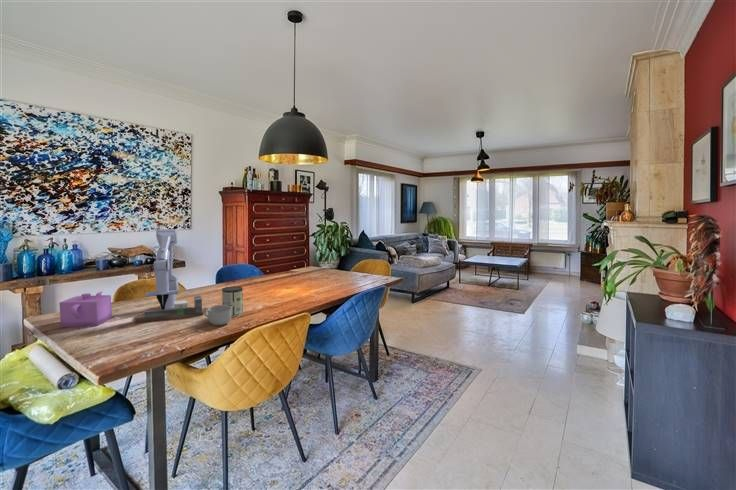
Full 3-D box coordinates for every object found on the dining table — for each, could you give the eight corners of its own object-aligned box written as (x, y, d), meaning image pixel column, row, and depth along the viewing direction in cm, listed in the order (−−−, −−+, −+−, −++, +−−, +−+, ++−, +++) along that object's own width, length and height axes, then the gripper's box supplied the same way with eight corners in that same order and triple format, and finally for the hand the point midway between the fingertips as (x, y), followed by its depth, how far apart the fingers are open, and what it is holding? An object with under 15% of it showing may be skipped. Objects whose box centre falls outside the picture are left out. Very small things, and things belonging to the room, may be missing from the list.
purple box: (119, 313, 187) (117, 287, 186) (91, 329, 163) (90, 299, 161) (86, 314, 184) (84, 288, 183) (53, 330, 160) (51, 300, 159)
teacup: (236, 321, 178) (236, 306, 177) (220, 328, 168) (220, 311, 167) (214, 318, 183) (213, 303, 182) (197, 324, 172) (197, 308, 172)
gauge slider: (174, 310, 189) (174, 301, 188) (186, 309, 192) (186, 300, 191) (174, 315, 181) (174, 305, 181) (187, 313, 184) (187, 304, 184)
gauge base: (137, 316, 184) (136, 300, 183) (201, 309, 198) (201, 294, 197) (135, 322, 173) (134, 305, 172) (203, 315, 188) (202, 299, 187)
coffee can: (228, 311, 197) (227, 285, 195) (246, 312, 195) (245, 286, 194) (218, 316, 186) (218, 289, 185) (237, 317, 185) (237, 290, 184)
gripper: (145, 285, 175) (146, 312, 177) (178, 283, 182) (179, 309, 184) (145, 283, 181) (146, 309, 183) (178, 280, 189) (178, 306, 190)
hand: (163, 309), depth 184 cm, fingers closed
